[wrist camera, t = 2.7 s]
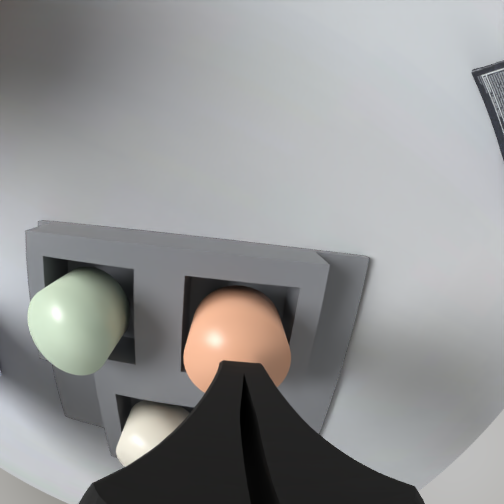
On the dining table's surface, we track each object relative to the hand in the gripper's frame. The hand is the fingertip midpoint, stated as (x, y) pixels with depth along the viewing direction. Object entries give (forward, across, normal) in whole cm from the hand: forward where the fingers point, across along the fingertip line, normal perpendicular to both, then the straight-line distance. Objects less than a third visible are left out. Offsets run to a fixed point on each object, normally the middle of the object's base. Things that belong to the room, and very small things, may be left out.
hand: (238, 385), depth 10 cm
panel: (+7, +2, +4) cm, 8 cm away
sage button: (+5, +7, 0) cm, 8 cm away
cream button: (+5, +3, +7) cm, 9 cm away
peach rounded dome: (+4, 0, 0) cm, 4 cm away
